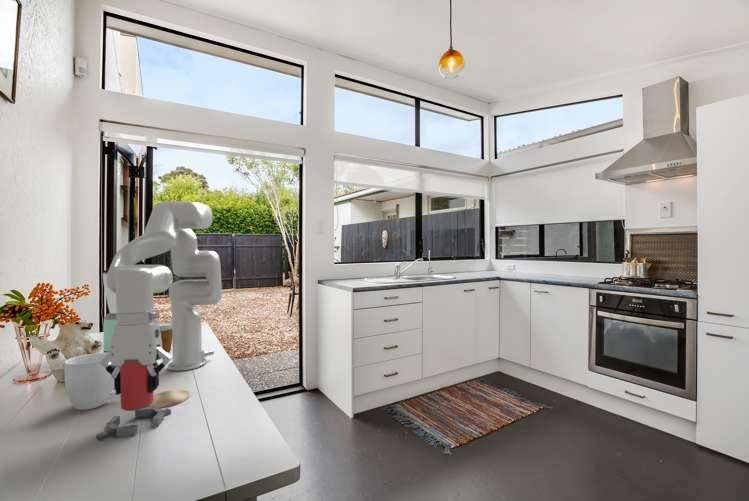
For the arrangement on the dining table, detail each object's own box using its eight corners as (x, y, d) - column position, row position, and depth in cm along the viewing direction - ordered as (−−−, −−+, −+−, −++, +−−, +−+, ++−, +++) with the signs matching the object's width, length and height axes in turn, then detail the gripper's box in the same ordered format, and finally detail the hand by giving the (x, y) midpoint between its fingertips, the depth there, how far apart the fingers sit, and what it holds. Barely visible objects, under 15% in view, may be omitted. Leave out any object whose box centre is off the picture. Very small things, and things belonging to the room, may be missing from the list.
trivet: (176, 389, 108) (176, 387, 108) (197, 396, 102) (197, 394, 102) (136, 402, 99) (136, 400, 99) (157, 411, 93) (157, 409, 93)
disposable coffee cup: (160, 349, 154) (159, 321, 154) (180, 350, 152) (179, 322, 152) (142, 355, 144) (142, 326, 144) (164, 356, 143) (163, 326, 143)
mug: (135, 391, 107) (134, 348, 107) (128, 406, 97) (128, 358, 97) (72, 401, 100) (71, 355, 100) (58, 417, 90) (57, 366, 90)
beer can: (119, 414, 82) (117, 363, 82) (122, 403, 88) (121, 355, 88) (152, 408, 85) (151, 358, 85) (154, 397, 91) (153, 351, 91)
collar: (159, 408, 95) (158, 400, 95) (180, 417, 90) (180, 409, 90) (88, 433, 82) (88, 425, 82) (107, 446, 76) (107, 437, 76)
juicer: (146, 353, 148) (145, 269, 148) (106, 360, 139) (105, 270, 139) (136, 344, 162) (135, 268, 162) (99, 350, 153) (98, 269, 153)
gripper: (179, 314, 91) (181, 383, 91) (106, 316, 89) (107, 387, 89) (166, 320, 83) (168, 395, 84) (85, 323, 81) (87, 400, 82)
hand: (137, 390), depth 86 cm, fingers closed on beer can, 6 cm apart
